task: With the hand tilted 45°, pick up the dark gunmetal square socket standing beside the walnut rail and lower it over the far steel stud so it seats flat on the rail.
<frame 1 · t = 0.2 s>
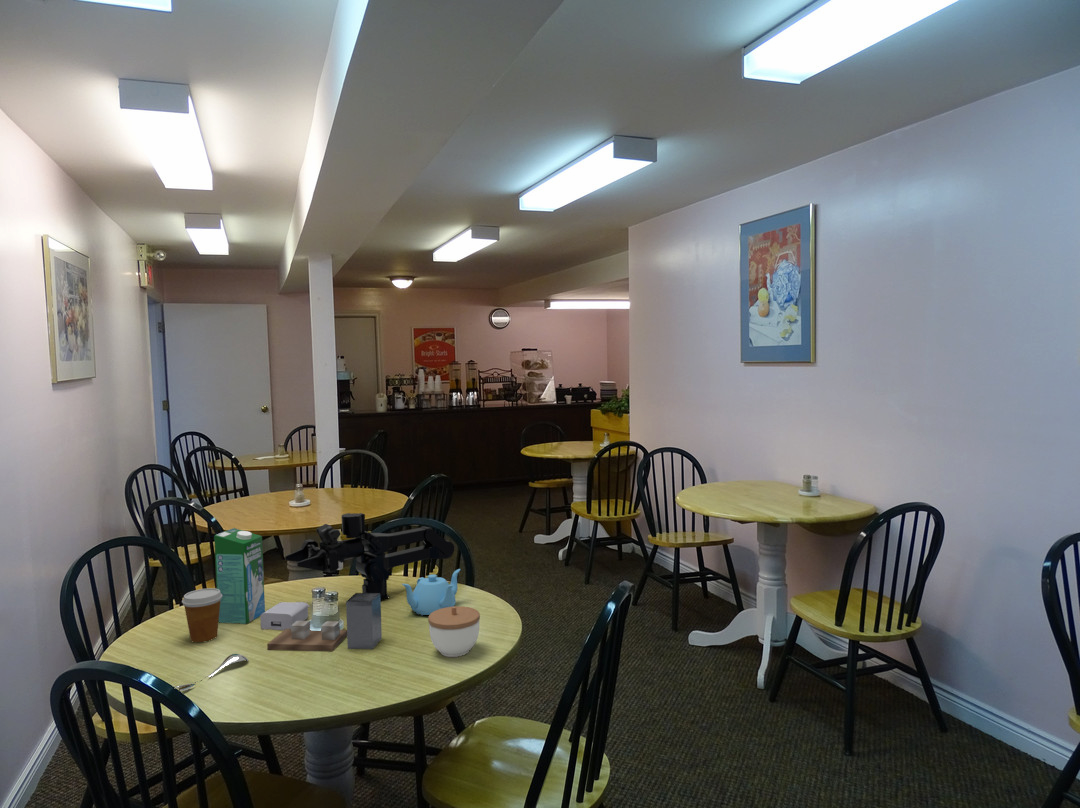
hand: (291, 561, 189), 17 cm above the table, tool horizontal, fingers open, 9 cm apart
socket: (365, 643, 172), on the table
teapot: (435, 611, 195), on the table
socket rail: (308, 642, 173), on the table
disposable coffee cup: (204, 638, 177), on the table
charger: (290, 621, 190), on the table
stirrer: (210, 679, 154), on the table
lidded bowl: (455, 651, 166), on the table
milk carton: (242, 618, 192), on the table
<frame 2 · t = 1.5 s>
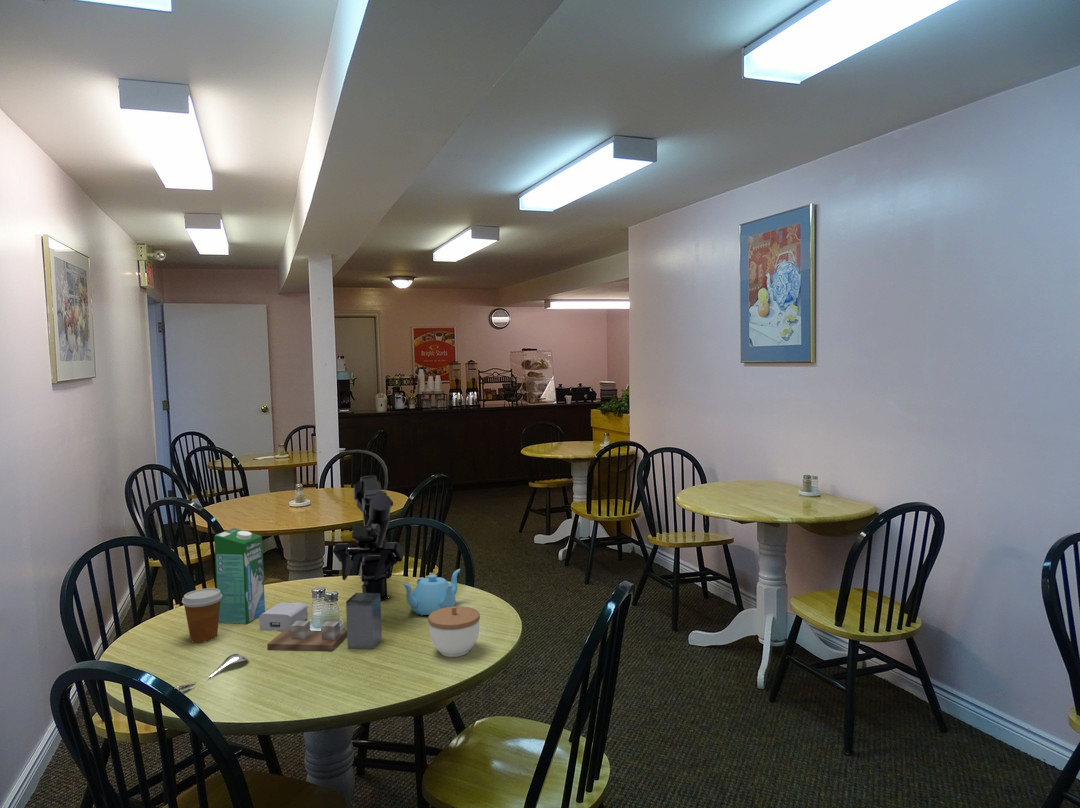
hand: (359, 579, 179), 14 cm above the table, tool tilted 50°, fingers open, 9 cm apart
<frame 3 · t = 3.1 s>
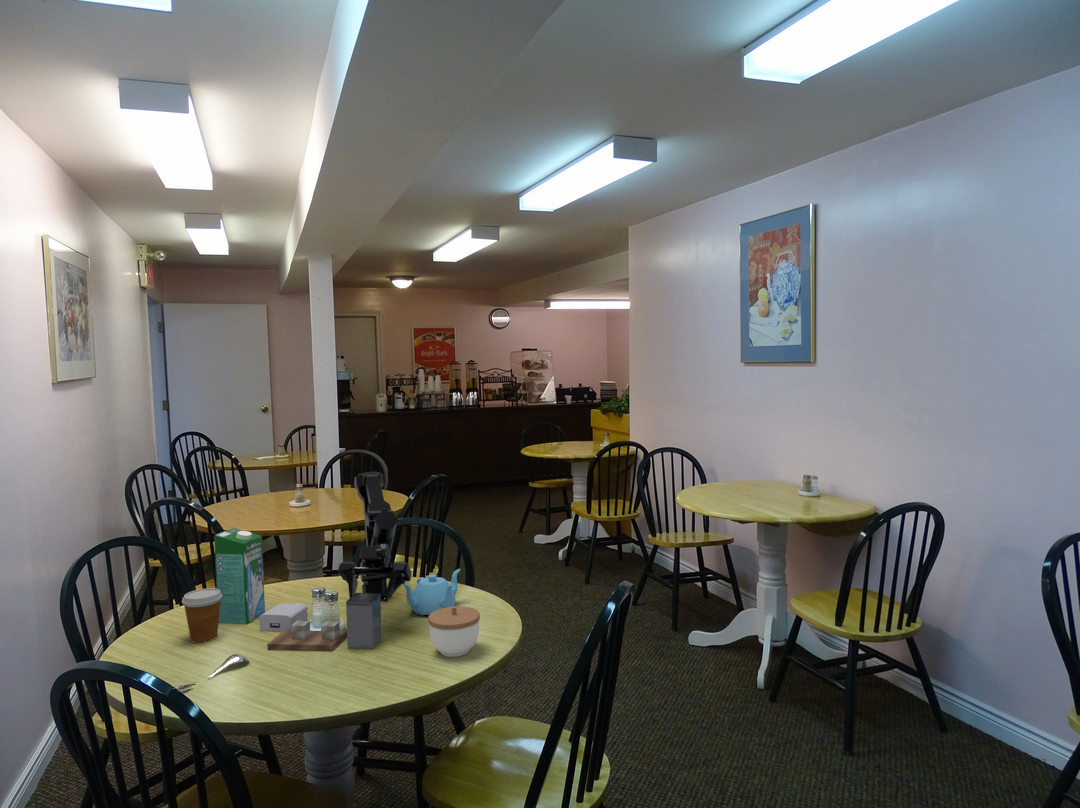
hand: (368, 601, 174), 10 cm above the table, tool tilted 45°, fingers open, 9 cm apart
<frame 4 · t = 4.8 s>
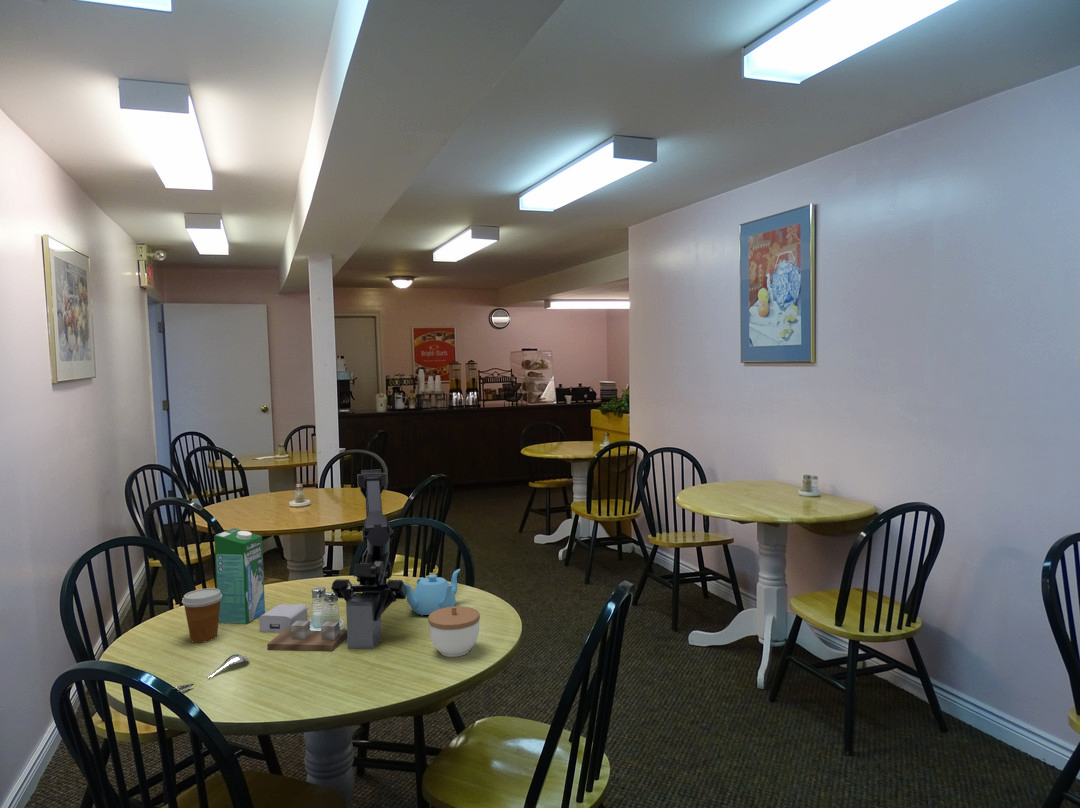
hand: (362, 620, 170), 7 cm above the table, tool tilted 45°, fingers closed on socket, 7 cm apart
socket: (365, 643, 172), on the table, touching gripper
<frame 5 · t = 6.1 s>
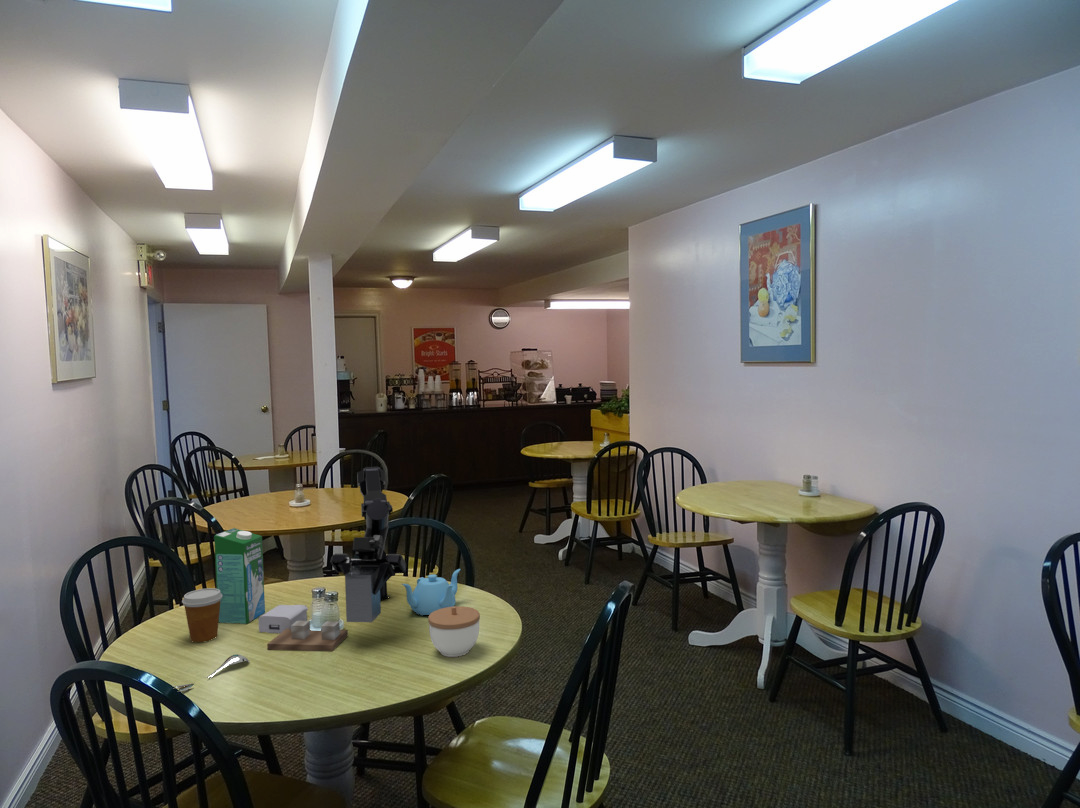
hand: (361, 593, 170), 13 cm above the table, tool tilted 45°, fingers closed on socket, 7 cm apart
socket: (363, 617, 171), point 7 cm above the table, touching gripper
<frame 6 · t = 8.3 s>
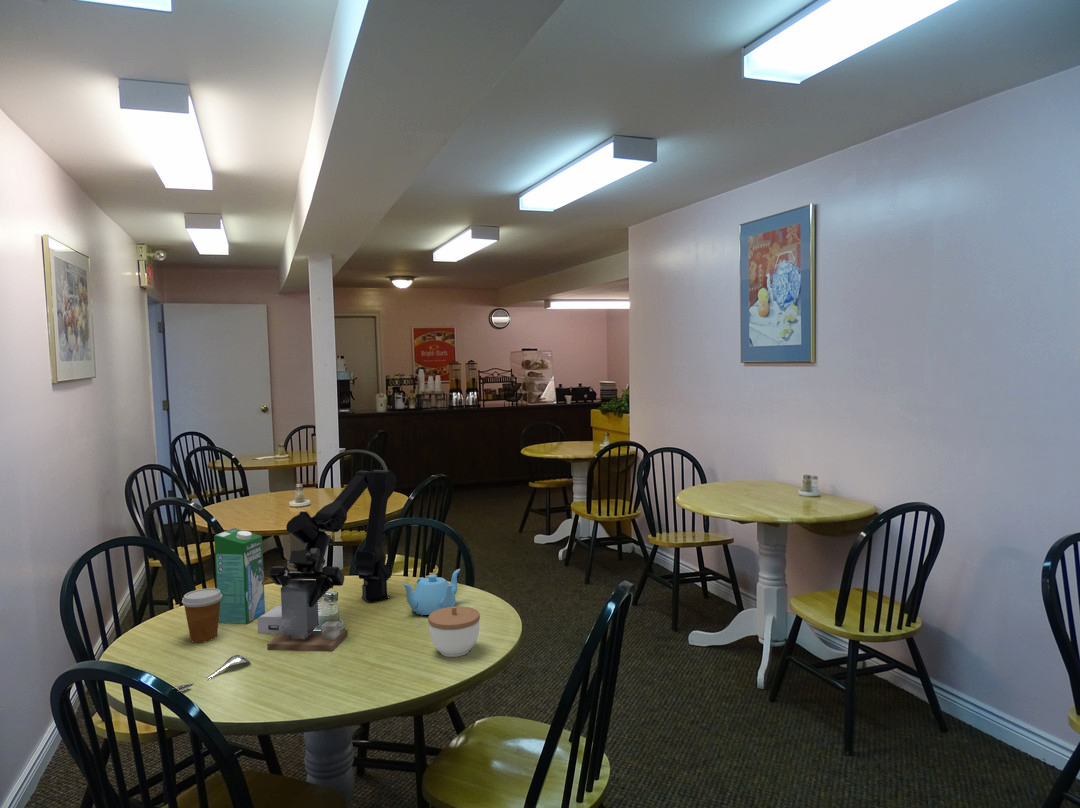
hand: (297, 606, 172), 10 cm above the table, tool tilted 45°, fingers closed on socket, 7 cm apart
socket: (301, 629, 173), point 3 cm above the table, touching gripper
when the fingers open (9 cm above the table, at t = 9.0 s): socket stays where it is, resting on socket rail.
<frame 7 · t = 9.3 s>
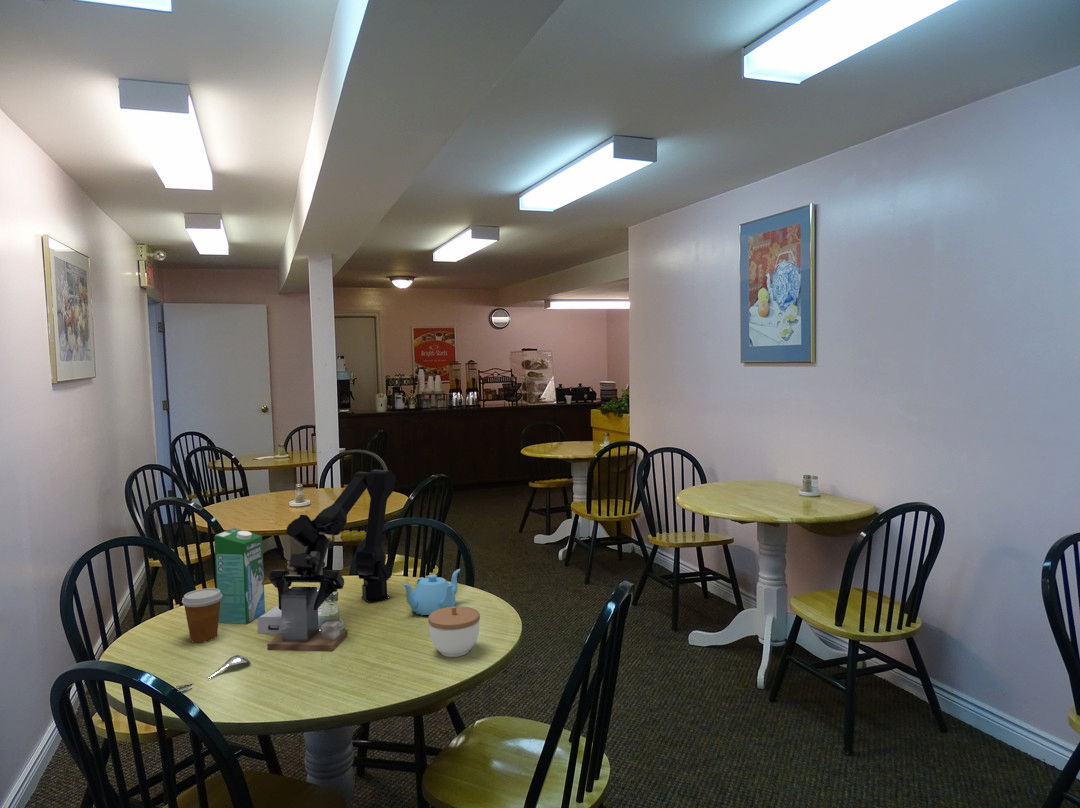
hand: (297, 609, 172), 9 cm above the table, tool tilted 45°, fingers open, 9 cm apart
socket: (301, 636, 173), point 1 cm above the table, touching socket rail
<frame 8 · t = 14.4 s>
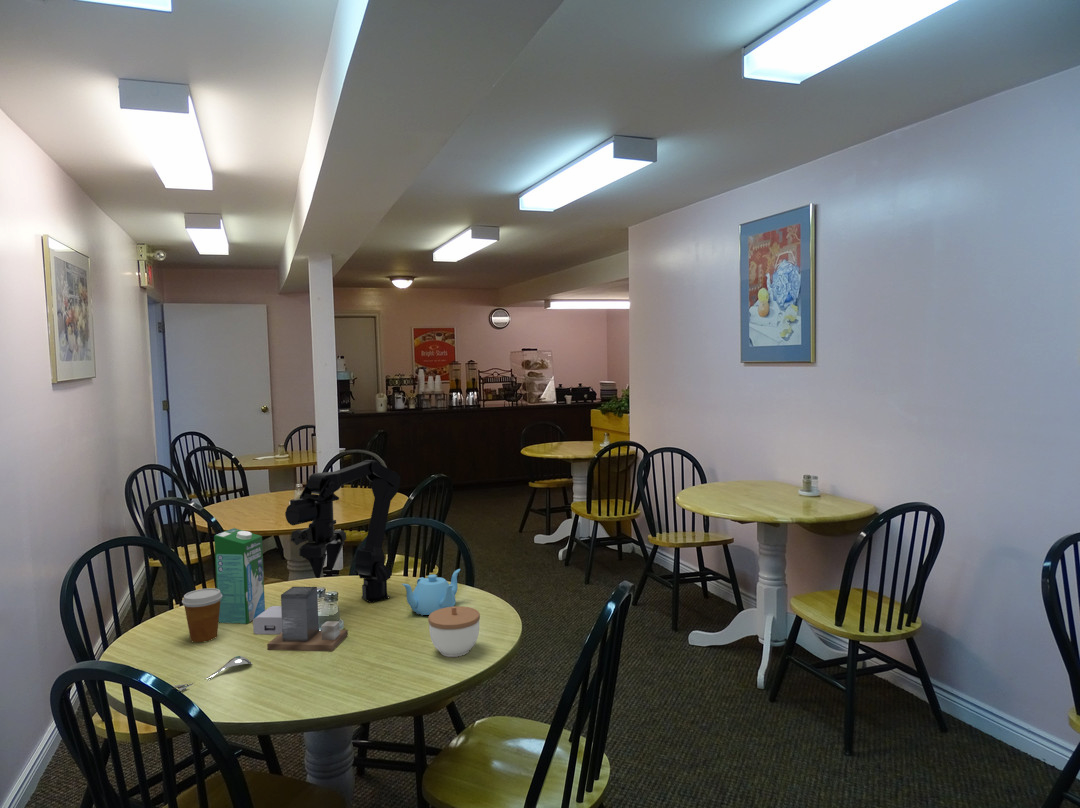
hand: (324, 572, 190), 13 cm above the table, tool pointing down, fingers open, 9 cm apart
charger: (282, 625, 187), on the table
at the end: socket 0.0 cm from the target spot on the socket rail, point 1.5 cm above the socket rail's base; socket tilted 0°; the gripper is holding nothing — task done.
